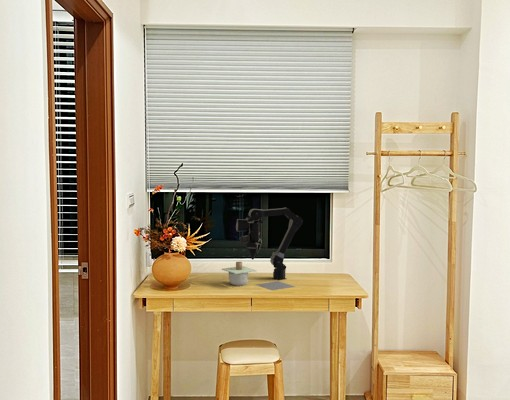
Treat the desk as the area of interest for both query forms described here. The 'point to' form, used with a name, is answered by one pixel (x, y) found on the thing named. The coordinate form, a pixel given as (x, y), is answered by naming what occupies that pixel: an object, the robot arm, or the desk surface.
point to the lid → (239, 269)
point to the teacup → (238, 279)
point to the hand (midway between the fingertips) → (254, 258)
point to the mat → (275, 285)
